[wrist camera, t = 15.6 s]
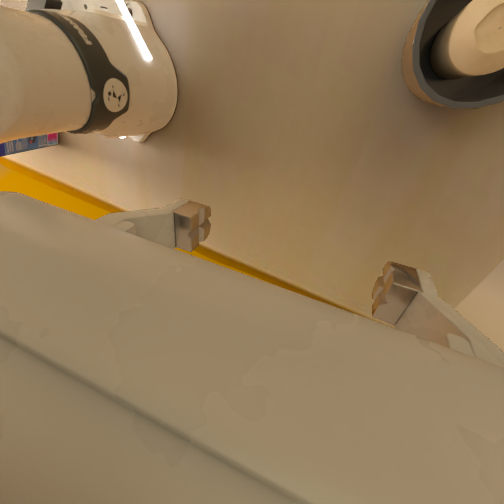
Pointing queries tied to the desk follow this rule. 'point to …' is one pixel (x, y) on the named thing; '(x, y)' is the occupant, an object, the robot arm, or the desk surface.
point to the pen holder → (423, 76)
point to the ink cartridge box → (28, 144)
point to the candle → (471, 41)
